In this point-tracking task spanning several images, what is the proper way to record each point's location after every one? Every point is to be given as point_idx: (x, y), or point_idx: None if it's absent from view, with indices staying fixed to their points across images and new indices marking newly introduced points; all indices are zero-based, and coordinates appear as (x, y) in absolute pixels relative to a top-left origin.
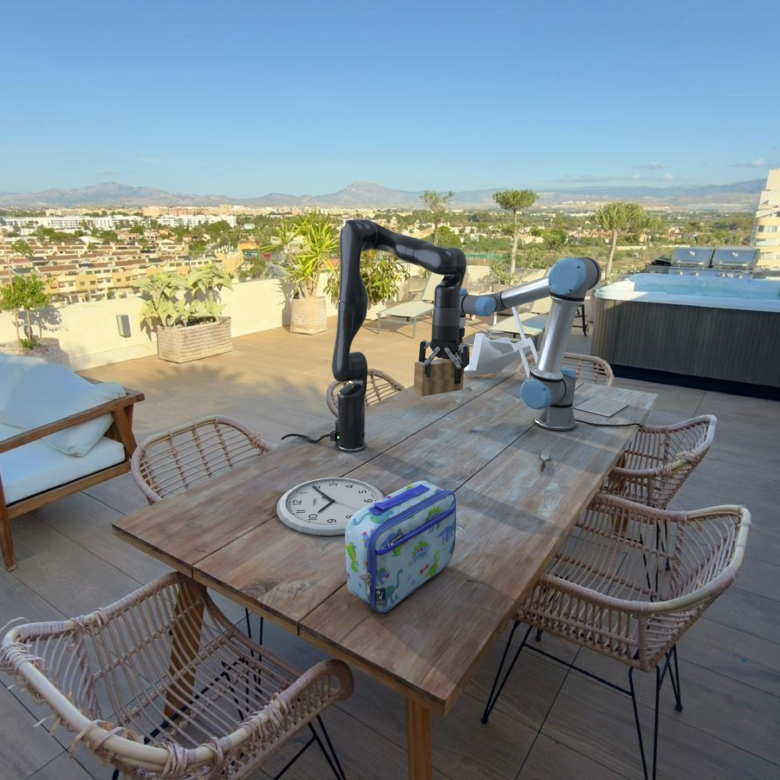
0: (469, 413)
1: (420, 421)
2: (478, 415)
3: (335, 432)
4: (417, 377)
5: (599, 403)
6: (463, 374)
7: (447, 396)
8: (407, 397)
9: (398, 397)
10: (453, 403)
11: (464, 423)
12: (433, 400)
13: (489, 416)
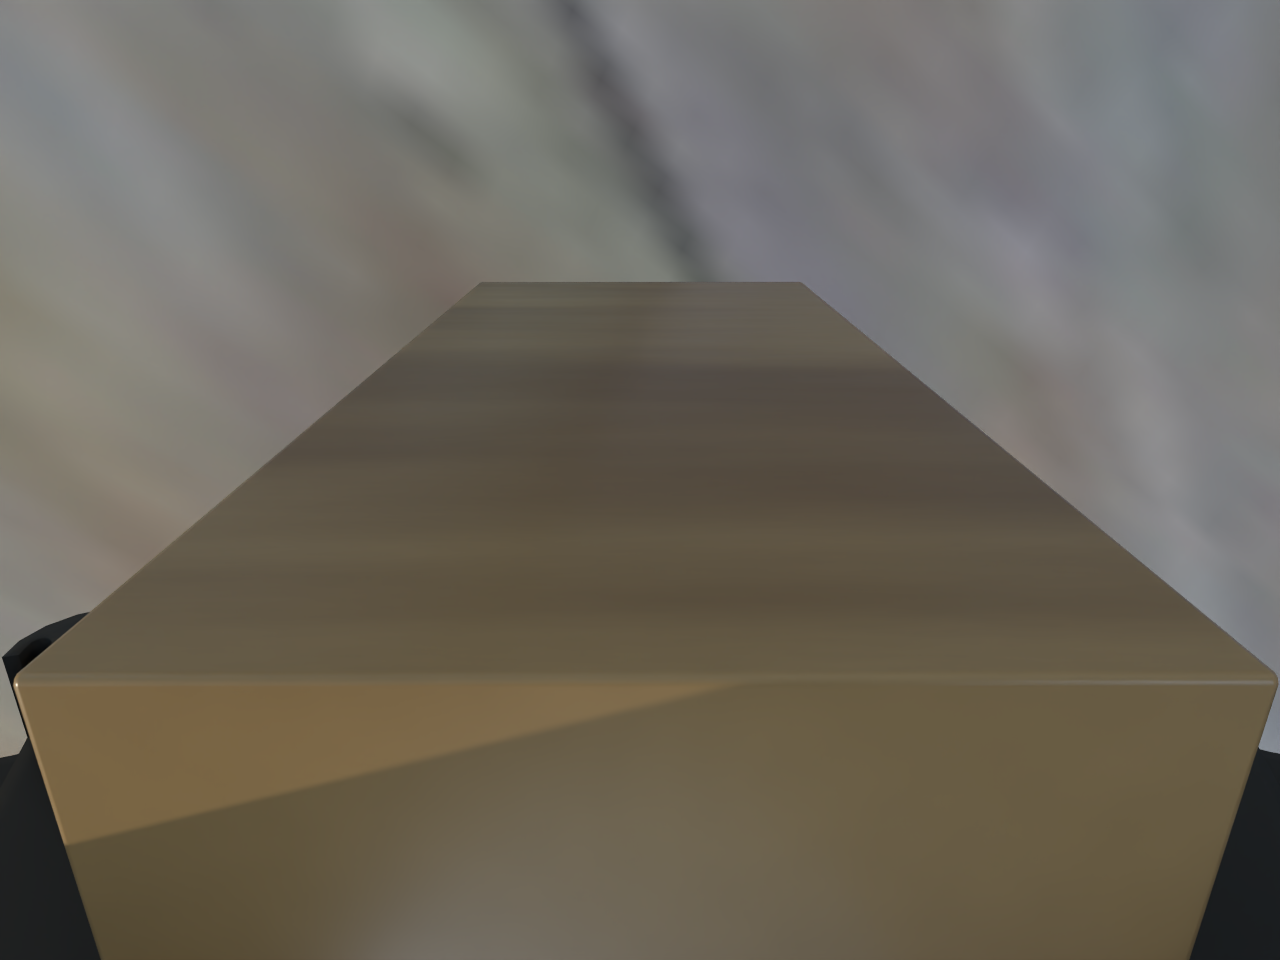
0: (971, 265)
1: None
2: (1112, 197)
3: None
4: None
5: None
6: (902, 379)
7: (131, 66)
8: (37, 630)
9: (12, 719)
10: (493, 202)
11: (1192, 549)
12: (259, 396)
13: (1252, 64)
